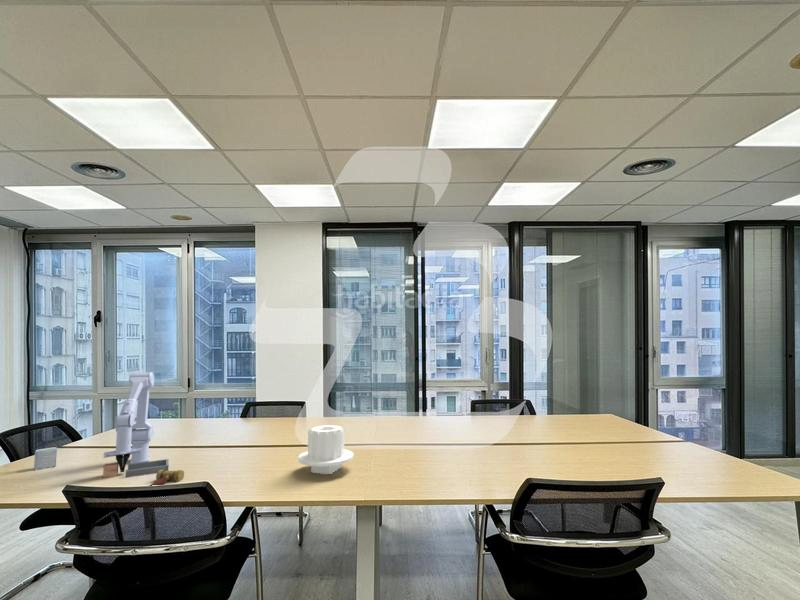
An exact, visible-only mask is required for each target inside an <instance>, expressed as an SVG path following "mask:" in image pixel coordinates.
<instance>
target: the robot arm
mask: <svg viewBox="0 0 800 600" xmlns="http://www.w3.org/2000/svg"><path fill="white" fill-rule="evenodd" d="M128 383H129V387H130V391H129V394H128V397H127V399H126V400H124V401H123V405H122V406H121V410H120V412H119V414H118V415H116V417H115V420H114V426H115V432H116V441H115V443H116V444H115V450H112V451H105V452H103V459H105V458H111V457H112V458H113V457H115V460H116V462H118V468H119V472H120V473H124V472H125V468H126V465H127V462H128V460H129V459H130V461H129V464H133V463H141V462H149V461H150V455H149V450H150V449H149V447H150V442H151V441H152V440H153V438H154V425H152V424H151V423H149V422H148V413H149V402H150V400H149V399H150V392H151V389H153V388H154V386H155V373H153V372H152V371H150V372H131V373H130V374H129V376H128ZM135 419H136V420H135ZM130 457H131V458H130Z"/></svg>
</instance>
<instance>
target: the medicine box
mask: <svg viewBox="0 0 800 600" xmlns="http://www.w3.org/2000/svg"><path fill="white" fill-rule="evenodd" d="M57 454H58V447H56V446H55V447H46V448H40V449H35V450H34V463H33V469H39V470H42V469H41V468H45V469H48V468H47V467H51V468H54V467H53V466H56V467H57V456H58V455H57Z"/></svg>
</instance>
